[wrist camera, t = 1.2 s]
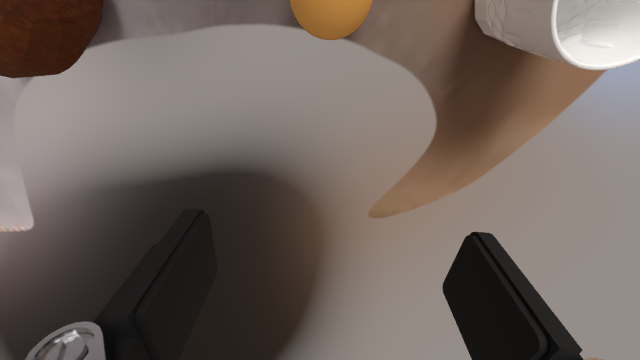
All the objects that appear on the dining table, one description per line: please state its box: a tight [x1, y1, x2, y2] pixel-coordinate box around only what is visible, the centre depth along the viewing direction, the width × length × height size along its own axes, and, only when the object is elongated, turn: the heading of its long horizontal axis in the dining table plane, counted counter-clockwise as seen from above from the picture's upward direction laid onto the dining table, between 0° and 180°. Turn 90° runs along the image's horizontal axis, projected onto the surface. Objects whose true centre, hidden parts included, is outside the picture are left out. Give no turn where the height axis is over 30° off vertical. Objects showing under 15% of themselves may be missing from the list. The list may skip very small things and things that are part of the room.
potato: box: [0, 0, 103, 78], centre depth 19 cm, size 8×12×8 cm, turn 124°
